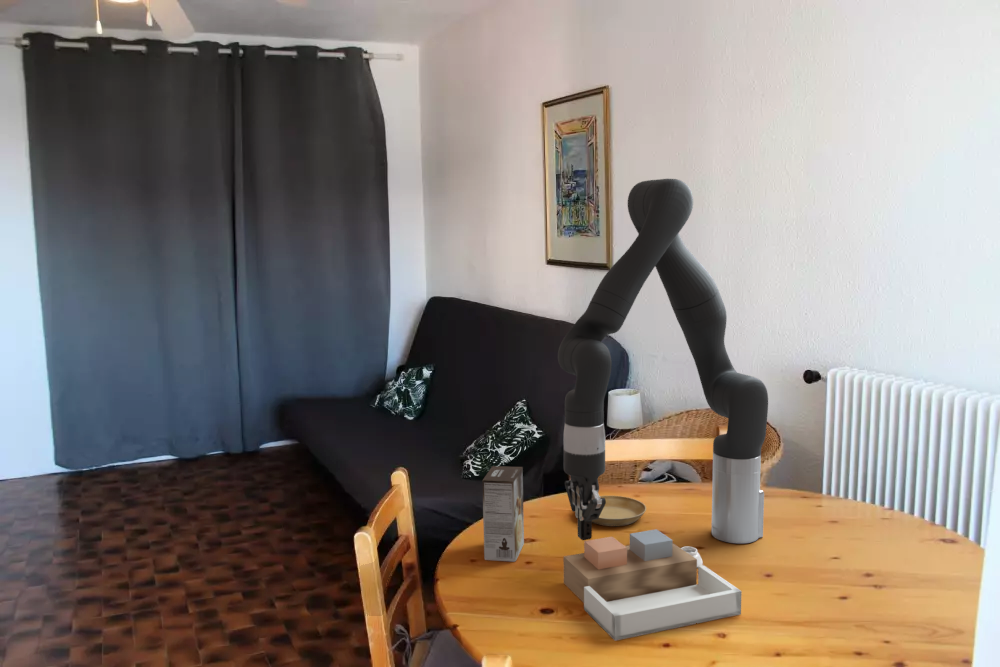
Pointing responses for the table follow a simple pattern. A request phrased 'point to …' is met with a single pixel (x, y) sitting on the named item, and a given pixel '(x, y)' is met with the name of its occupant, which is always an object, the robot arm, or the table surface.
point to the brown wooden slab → (631, 575)
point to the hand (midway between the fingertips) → (584, 538)
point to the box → (665, 607)
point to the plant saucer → (620, 511)
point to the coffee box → (503, 513)
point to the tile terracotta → (605, 552)
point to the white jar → (693, 554)
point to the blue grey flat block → (651, 545)
